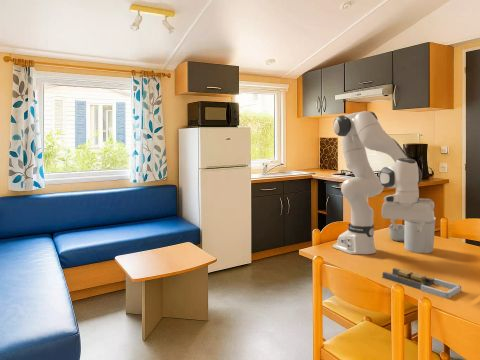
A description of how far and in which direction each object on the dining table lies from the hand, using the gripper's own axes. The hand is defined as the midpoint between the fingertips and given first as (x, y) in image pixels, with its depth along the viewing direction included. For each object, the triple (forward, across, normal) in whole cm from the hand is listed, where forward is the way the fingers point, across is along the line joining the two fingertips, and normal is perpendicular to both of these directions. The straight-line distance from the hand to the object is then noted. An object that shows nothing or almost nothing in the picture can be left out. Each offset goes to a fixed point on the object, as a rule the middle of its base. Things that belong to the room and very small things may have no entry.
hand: (407, 230), depth 161 cm
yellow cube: (+20, -6, +6) cm, 21 cm away
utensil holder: (+20, +8, -46) cm, 51 cm away
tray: (+21, -14, +8) cm, 27 cm away
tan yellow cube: (+20, 0, +4) cm, 20 cm away
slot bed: (+21, -1, +5) cm, 21 cm away
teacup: (+19, +23, -60) cm, 67 cm away
